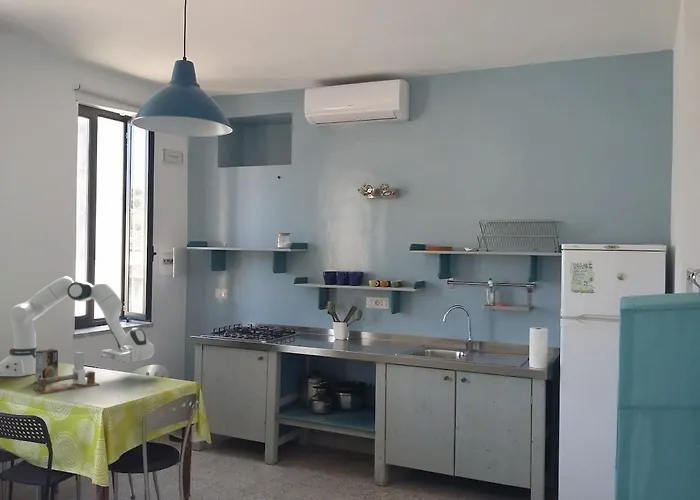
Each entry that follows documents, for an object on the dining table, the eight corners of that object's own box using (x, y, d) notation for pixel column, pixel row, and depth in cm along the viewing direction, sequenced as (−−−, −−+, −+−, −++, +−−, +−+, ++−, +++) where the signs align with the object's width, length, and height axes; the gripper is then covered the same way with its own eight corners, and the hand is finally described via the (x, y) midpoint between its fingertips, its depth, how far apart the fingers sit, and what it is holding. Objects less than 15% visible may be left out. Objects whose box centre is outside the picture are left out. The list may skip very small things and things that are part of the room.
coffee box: (50, 378, 342) (51, 348, 342) (58, 380, 339) (58, 349, 338) (34, 381, 334) (35, 350, 334) (42, 383, 331) (42, 352, 331)
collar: (78, 381, 330) (78, 351, 330) (84, 383, 326) (85, 352, 325) (72, 382, 328) (73, 351, 328) (79, 384, 323) (79, 353, 323)
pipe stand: (88, 381, 337) (88, 369, 337) (99, 385, 329) (99, 372, 329) (33, 390, 316) (33, 376, 316) (43, 394, 308) (44, 380, 308)
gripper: (116, 345, 353) (92, 348, 343) (136, 350, 340) (111, 353, 329) (115, 357, 353) (91, 360, 343) (135, 362, 340) (111, 365, 329)
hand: (101, 356), depth 336 cm, fingers closed
